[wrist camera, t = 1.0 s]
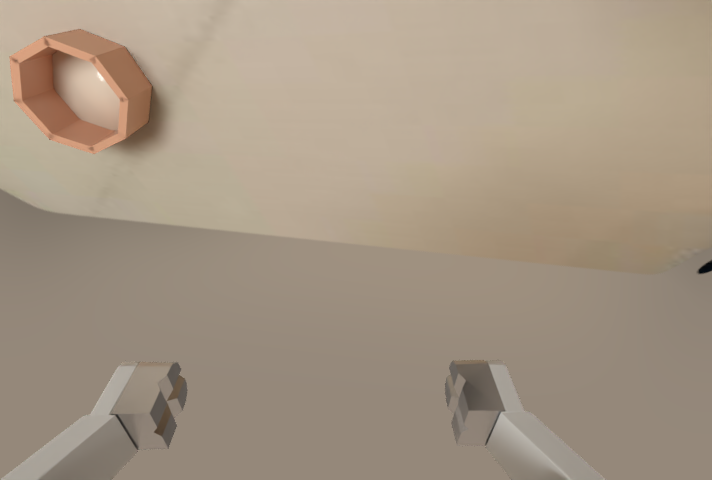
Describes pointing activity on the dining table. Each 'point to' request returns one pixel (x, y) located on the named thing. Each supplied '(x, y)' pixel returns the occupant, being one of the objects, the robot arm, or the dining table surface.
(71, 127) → the bowl
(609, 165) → the dining table surface
